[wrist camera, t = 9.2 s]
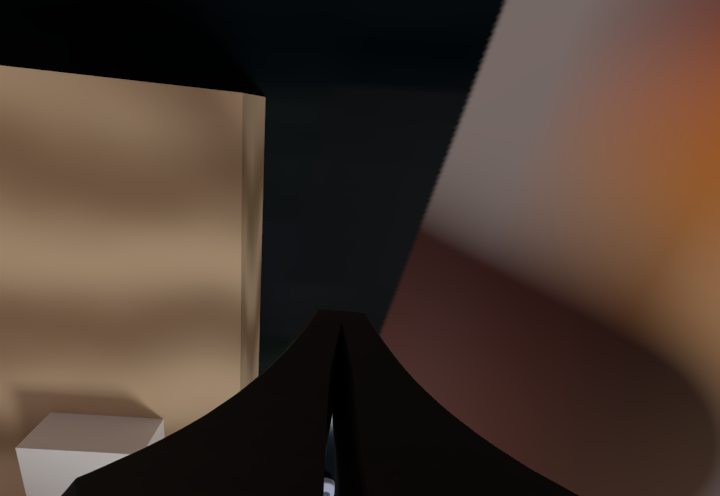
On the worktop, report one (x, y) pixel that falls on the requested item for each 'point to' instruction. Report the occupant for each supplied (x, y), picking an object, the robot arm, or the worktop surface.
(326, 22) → the worktop surface
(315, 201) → the worktop surface
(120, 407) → the oak deck
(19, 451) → the pale grey tile
